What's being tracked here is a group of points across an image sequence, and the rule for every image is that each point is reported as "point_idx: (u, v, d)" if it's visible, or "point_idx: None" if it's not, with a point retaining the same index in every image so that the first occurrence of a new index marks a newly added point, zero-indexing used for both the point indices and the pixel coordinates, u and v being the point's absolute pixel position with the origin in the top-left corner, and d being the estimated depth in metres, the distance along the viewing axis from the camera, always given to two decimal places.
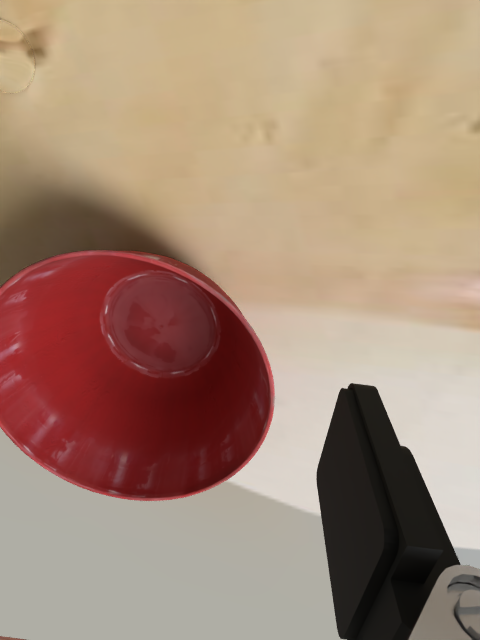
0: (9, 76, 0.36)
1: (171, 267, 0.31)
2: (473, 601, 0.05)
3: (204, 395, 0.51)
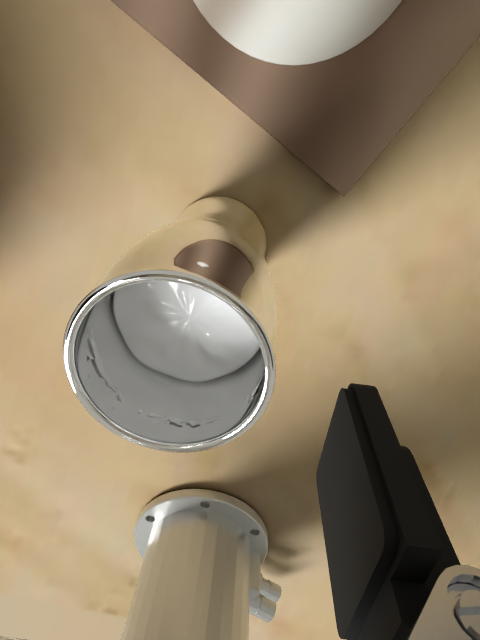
0: None
1: None
2: (473, 601, 0.05)
3: None
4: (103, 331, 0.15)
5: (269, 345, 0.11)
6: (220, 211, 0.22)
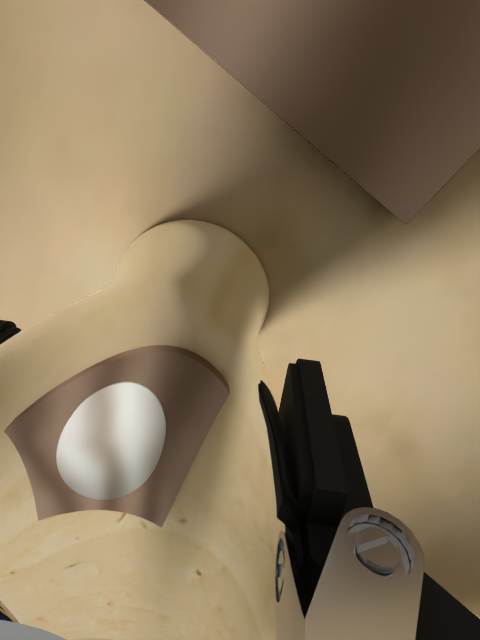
0: None
1: None
2: (369, 536, 0.06)
3: None
4: None
5: None
6: (186, 253, 0.12)
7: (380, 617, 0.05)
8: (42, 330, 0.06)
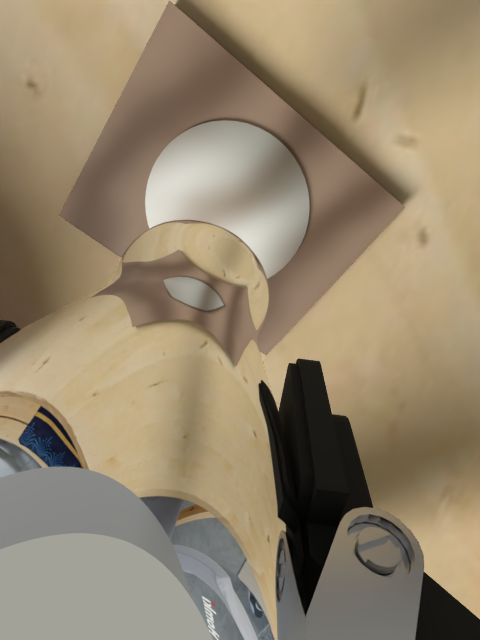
0: None
1: None
2: (369, 536, 0.06)
3: None
4: None
5: None
6: (186, 253, 0.12)
7: (379, 617, 0.05)
8: (40, 330, 0.06)
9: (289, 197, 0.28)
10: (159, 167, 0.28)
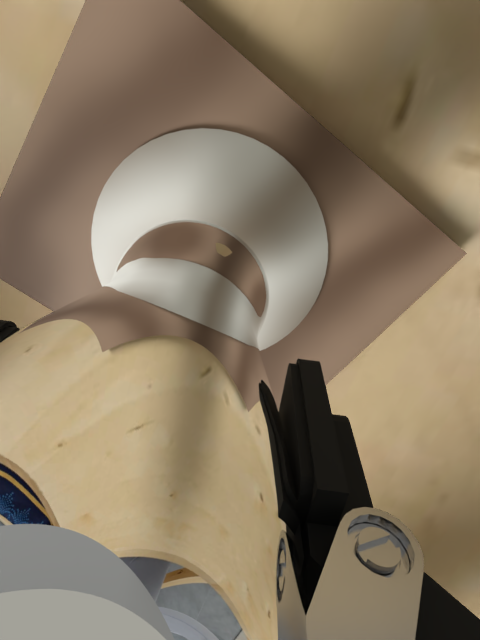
0: None
1: None
2: (369, 537, 0.06)
3: None
4: None
5: None
6: (186, 253, 0.12)
7: (380, 617, 0.05)
8: (40, 329, 0.06)
9: (299, 239, 0.19)
10: (108, 196, 0.19)
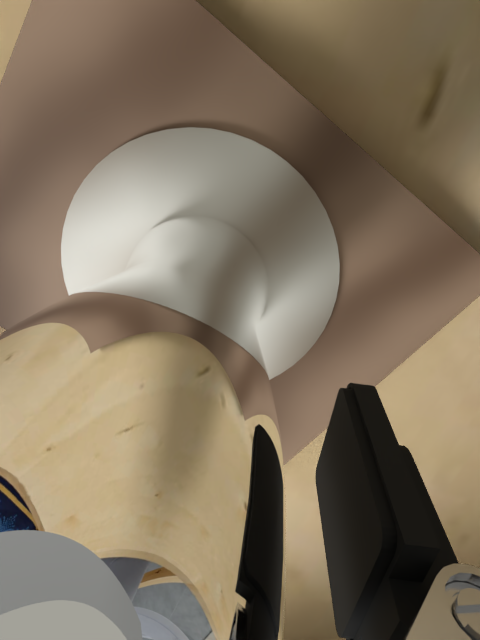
0: None
1: None
2: (471, 599, 0.05)
3: None
4: None
5: None
6: (192, 245, 0.13)
7: None
8: (71, 301, 0.08)
9: (305, 258, 0.16)
10: (80, 208, 0.16)
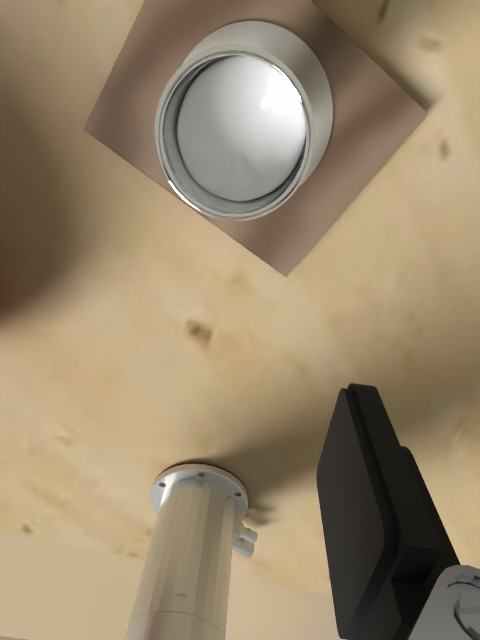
0: None
1: None
2: (473, 601, 0.05)
3: None
4: (172, 142, 0.19)
5: (311, 111, 0.15)
6: None
7: None
8: None
9: (313, 104, 0.28)
10: None
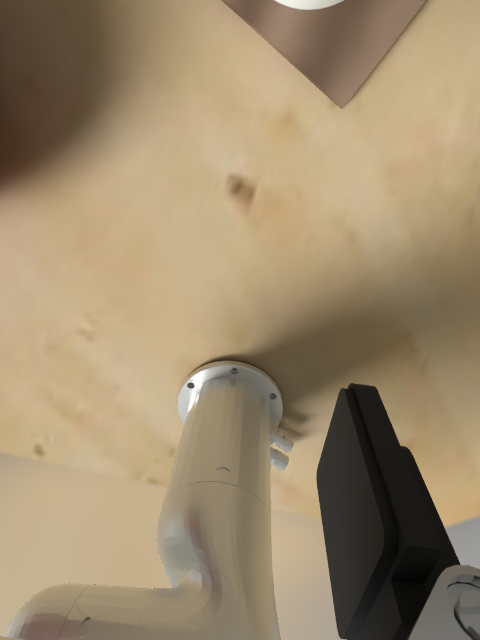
0: None
1: None
2: (473, 601, 0.05)
3: None
4: None
5: None
6: None
7: None
8: None
9: None
10: None
